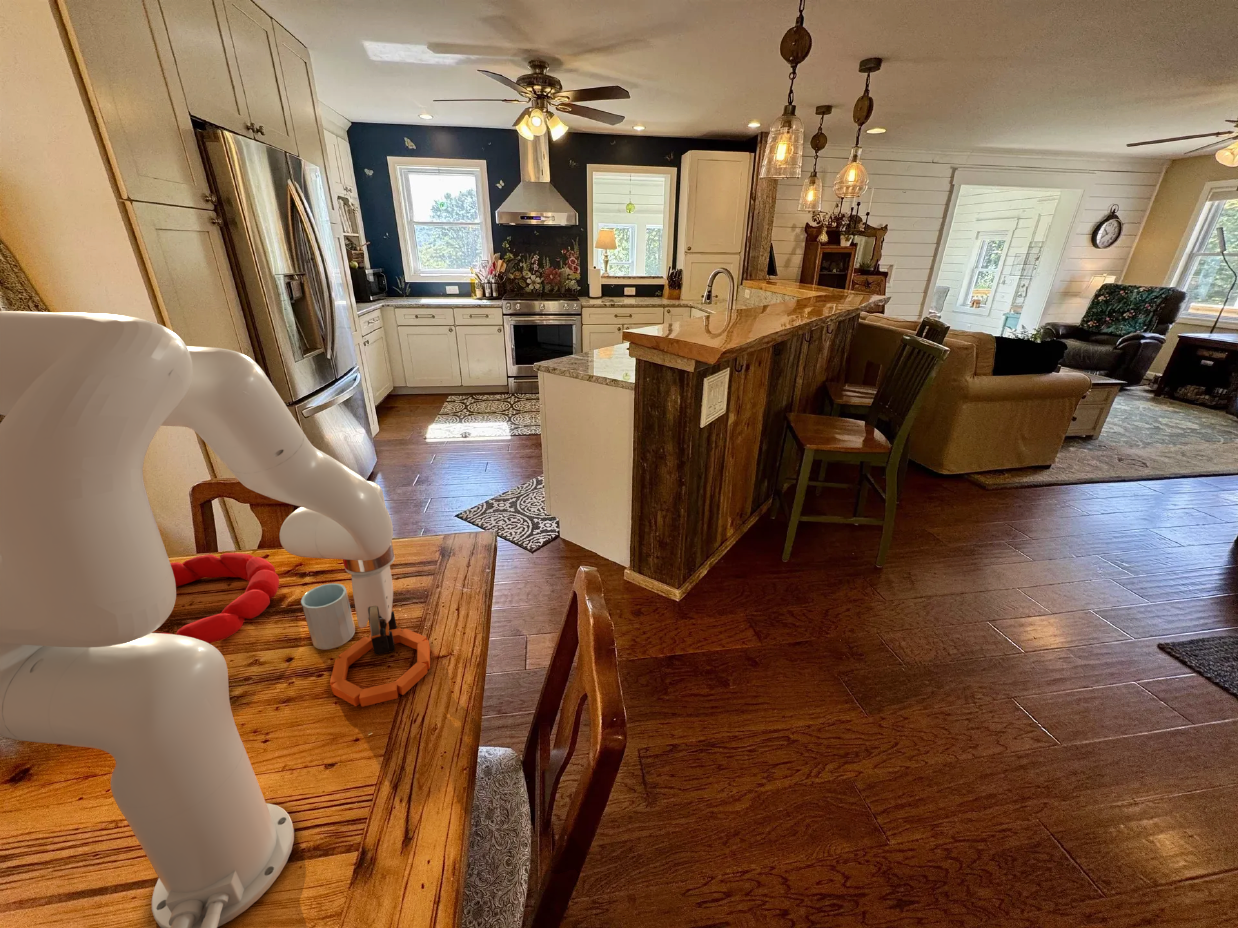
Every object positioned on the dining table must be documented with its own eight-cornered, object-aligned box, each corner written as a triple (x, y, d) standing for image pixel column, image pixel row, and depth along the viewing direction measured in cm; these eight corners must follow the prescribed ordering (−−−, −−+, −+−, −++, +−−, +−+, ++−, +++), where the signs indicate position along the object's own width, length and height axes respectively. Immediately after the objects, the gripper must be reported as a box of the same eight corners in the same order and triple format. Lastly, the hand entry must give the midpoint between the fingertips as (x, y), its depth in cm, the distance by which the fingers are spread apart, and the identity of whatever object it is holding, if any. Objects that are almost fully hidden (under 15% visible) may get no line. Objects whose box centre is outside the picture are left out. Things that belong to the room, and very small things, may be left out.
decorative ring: (271, 534, 111) (81, 568, 94) (283, 606, 89) (36, 667, 71) (276, 562, 114) (91, 600, 96) (288, 638, 91) (50, 705, 74)
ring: (429, 690, 78) (428, 682, 78) (326, 715, 74) (324, 706, 73) (429, 629, 91) (428, 622, 90) (341, 647, 86) (339, 639, 86)
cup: (352, 644, 87) (342, 603, 84) (308, 653, 85) (296, 611, 82) (357, 619, 93) (348, 580, 90) (316, 627, 91) (305, 587, 87)
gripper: (350, 532, 87) (368, 615, 94) (334, 589, 72) (357, 682, 79) (396, 526, 89) (410, 607, 96) (389, 580, 75) (407, 671, 82)
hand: (386, 640), depth 88 cm, fingers open, 4 cm apart
